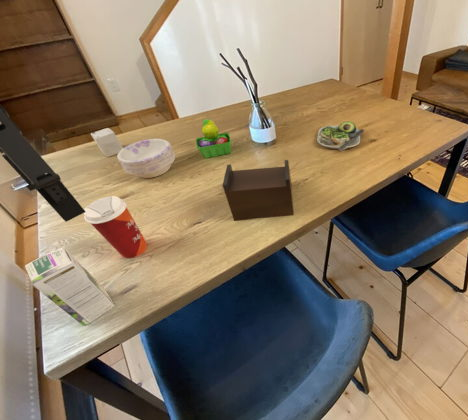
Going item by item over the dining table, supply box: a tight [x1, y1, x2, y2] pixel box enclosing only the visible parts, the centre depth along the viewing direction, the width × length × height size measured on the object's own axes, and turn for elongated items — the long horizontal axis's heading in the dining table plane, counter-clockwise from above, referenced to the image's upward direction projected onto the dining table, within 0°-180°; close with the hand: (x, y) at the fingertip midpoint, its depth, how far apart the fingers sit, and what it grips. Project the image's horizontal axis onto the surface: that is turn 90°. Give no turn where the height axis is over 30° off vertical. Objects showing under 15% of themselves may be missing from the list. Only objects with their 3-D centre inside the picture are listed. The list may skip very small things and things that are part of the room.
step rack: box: [222, 159, 295, 222], centre depth 76 cm, size 15×16×12 cm
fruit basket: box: [195, 118, 232, 159], centre depth 96 cm, size 11×9×11 cm
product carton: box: [90, 127, 124, 158], centre depth 98 cm, size 6×6×7 cm
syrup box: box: [24, 246, 116, 327], centre depth 51 cm, size 6×6×14 cm
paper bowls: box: [116, 138, 176, 179], centre depth 89 cm, size 15×15×8 cm
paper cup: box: [83, 195, 148, 259], centre depth 62 cm, size 8×8×14 cm
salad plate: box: [316, 121, 365, 152], centre depth 104 cm, size 19×18×5 cm
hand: (57, 199), depth 45 cm, fingers open, 13 cm apart
